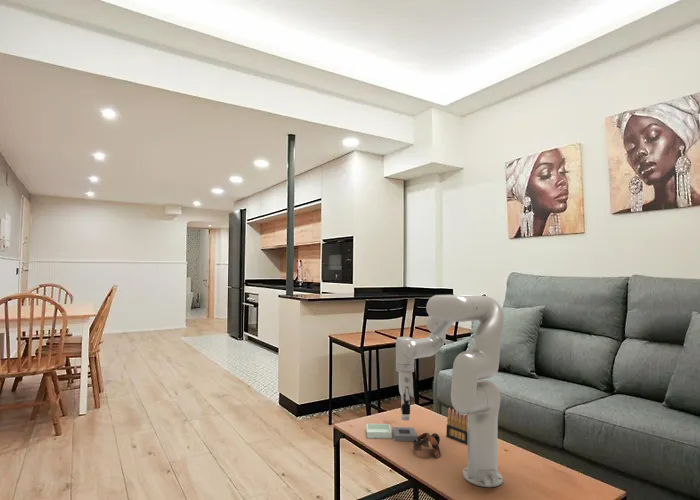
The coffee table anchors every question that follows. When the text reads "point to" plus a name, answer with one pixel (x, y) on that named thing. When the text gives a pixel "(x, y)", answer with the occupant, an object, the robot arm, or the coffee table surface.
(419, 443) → the pottery mug
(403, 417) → the cylinder
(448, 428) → the ammunition clip
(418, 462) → the coffee table surface
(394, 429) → the socket block
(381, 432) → the parts tray
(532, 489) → the coffee table surface
